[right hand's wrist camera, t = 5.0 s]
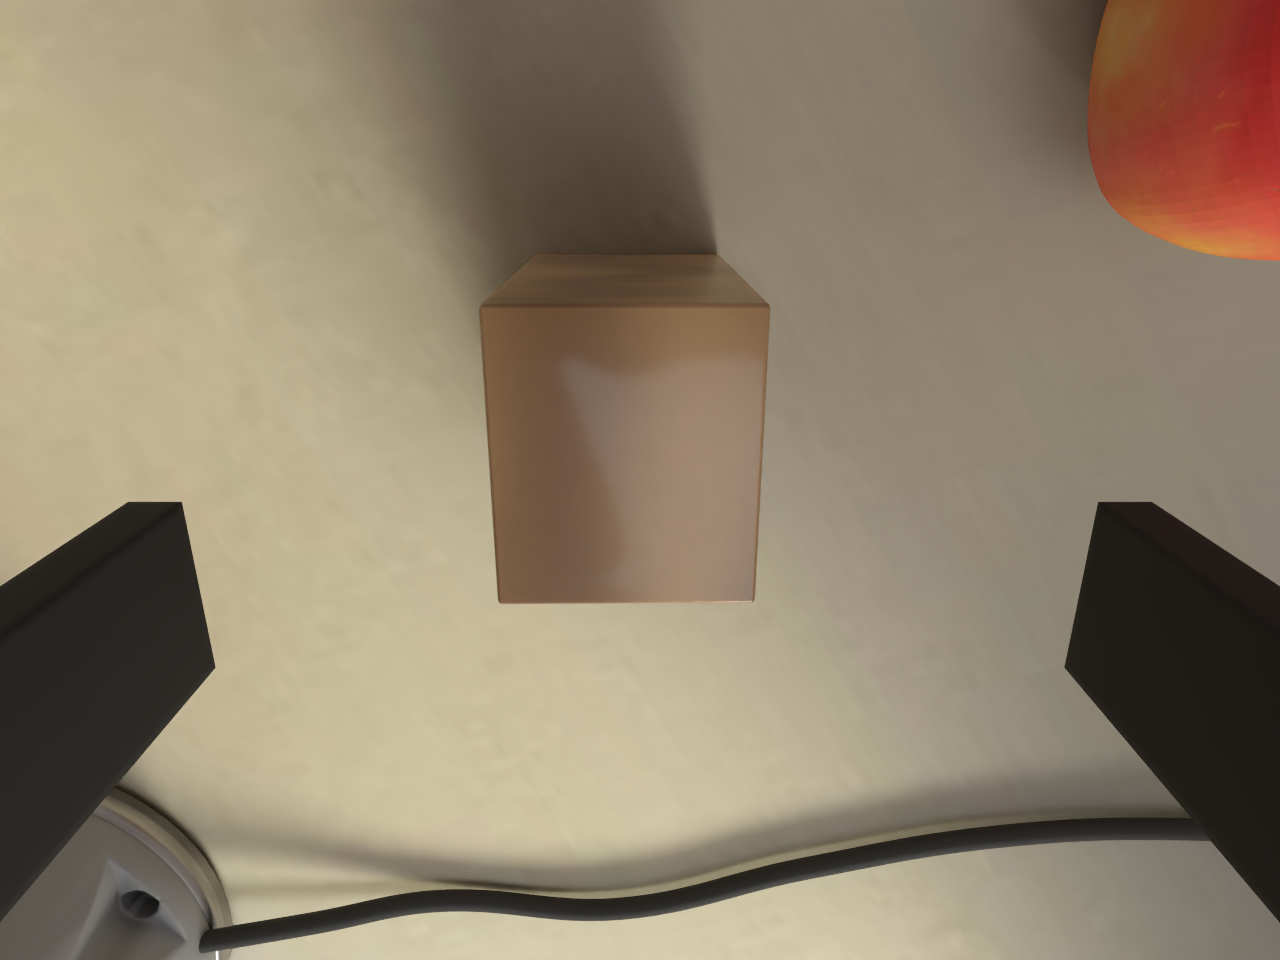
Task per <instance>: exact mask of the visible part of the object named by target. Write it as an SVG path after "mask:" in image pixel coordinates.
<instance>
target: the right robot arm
mask: <svg viewBox="0 0 1280 960" xmlns="http://www.w3.org/2000/svg"><path fill="white" fill-rule="evenodd" d="M214 669H215V663H214V658H213V653H212V648H211V643H210V639H209V634H208V629H207V624H206V619H205V614H204V609H203V604H202V599H201V594H200V589H199V584H198V580H197V575H196V570H195V565H194V560H193V555H192V550H191V545H190V540H189V535H188V530H187V525H186V521H185V516H184V511H183V506H182V502H128V503H126V504H125V505H123V506H121V507H120V508H118V509H117V510H115V511H114V512H112V513H111V514H109V515H108V516H106V517H105V518H103V519H102V520H100V521H99V522H97V523H96V524H94V525H93V526H91V527H90V528H88V529H87V530H85V531H84V532H82V533H80V534H79V535H77V536H76V537H74V538H73V539H71V540H70V541H68V542H67V543H65V544H64V545H62V546H61V547H59V548H58V549H56V550H55V551H53V552H52V553H50V554H49V555H47V556H46V557H44V558H43V559H41V560H40V561H38V562H36V563H35V564H33V565H32V566H30V567H29V568H27V569H26V570H24V571H23V572H21V573H20V574H18V575H17V576H15V577H14V578H12V579H11V580H9V581H8V582H6V583H5V584H3V585H2V586H0V960H229V959H230V955H231V950H232V948H238V947H244V946H250V945H256V944H262V943H268V942H274V941H279V940H285V939H291V938H297V937H302V936H308V935H314V934H319V933H324V932H329V931H334V930H339V929H344V928H348V927H353V926H357V925H361V924H366V923H370V922H374V921H379V920H384V919H389V918H394V917H399V916H405V915H412V914H420V913H431V912H449V911H470V912H489V913H501V914H511V915H520V916H528V917H537V918H547V919H558V920H573V921H608V920H623V919H633V918H642V917H649V916H656V915H661V914H667V913H672V912H677V911H682V910H687V909H691V908H695V907H699V906H703V905H707V904H711V903H715V902H719V901H722V900H726V899H730V898H733V897H737V896H741V895H744V894H748V893H752V892H755V891H759V890H763V889H767V888H771V887H775V886H780V885H784V884H788V883H793V882H798V881H803V880H808V879H813V878H818V877H823V876H828V875H833V874H839V873H844V872H849V871H854V870H859V869H864V868H869V867H875V866H880V865H885V864H890V863H896V862H901V861H907V860H913V859H919V858H925V857H931V856H938V855H944V854H952V853H959V852H967V851H975V850H983V849H993V848H1002V847H1012V846H1023V845H1034V844H1046V843H1060V842H1076V841H1099V840H1190V841H1211V842H1212V843H1213V844H1214V845H1215V846H1216V847H1217V849H1218V850H1219V851H1220V852H1221V853H1222V855H1223V856H1224V857H1225V858H1226V859H1227V860H1228V862H1229V863H1230V864H1231V865H1232V866H1233V868H1234V869H1235V870H1236V871H1237V872H1238V873H1239V875H1240V876H1241V877H1242V878H1243V879H1244V881H1245V882H1246V883H1247V884H1248V885H1249V887H1250V888H1251V889H1252V890H1253V891H1254V892H1255V894H1256V895H1257V896H1258V897H1259V898H1260V900H1261V901H1262V902H1263V903H1264V904H1265V905H1266V907H1267V908H1268V909H1269V910H1270V911H1271V913H1272V914H1273V915H1274V916H1275V917H1276V918H1277V920H1278V921H1279V922H1280V586H1278V585H1277V584H1275V583H1274V582H1272V581H1271V580H1269V579H1268V578H1266V577H1265V576H1263V575H1262V574H1260V573H1259V572H1257V571H1256V570H1254V569H1253V568H1251V567H1250V566H1248V565H1247V564H1245V563H1244V562H1242V561H1240V560H1239V559H1237V558H1236V557H1234V556H1233V555H1231V554H1230V553H1228V552H1227V551H1225V550H1224V549H1222V548H1221V547H1219V546H1218V545H1216V544H1215V543H1213V542H1212V541H1210V540H1209V539H1207V538H1206V537H1204V536H1203V535H1201V534H1199V533H1198V532H1196V531H1195V530H1193V529H1192V528H1190V527H1189V526H1187V525H1186V524H1184V523H1183V522H1181V521H1180V520H1178V519H1177V518H1175V517H1174V516H1172V515H1171V514H1169V513H1168V512H1166V511H1165V510H1163V509H1162V508H1160V507H1159V506H1157V505H1155V504H1154V503H1152V502H1098V506H1097V511H1096V516H1095V521H1094V525H1093V530H1092V535H1091V540H1090V545H1089V550H1088V555H1087V560H1086V565H1085V570H1084V575H1083V580H1082V584H1081V589H1080V594H1079V599H1078V604H1077V609H1076V614H1075V619H1074V624H1073V629H1072V634H1071V639H1070V643H1069V648H1068V653H1067V658H1066V663H1065V669H1066V670H1067V671H1068V672H1069V673H1070V675H1071V676H1072V677H1073V678H1074V679H1075V681H1076V682H1077V683H1078V684H1079V685H1080V686H1081V688H1082V689H1083V690H1084V691H1085V692H1086V694H1087V695H1088V696H1089V697H1090V698H1091V699H1092V701H1093V702H1094V703H1095V704H1096V705H1097V707H1098V708H1099V709H1100V710H1101V711H1102V712H1103V714H1104V715H1105V716H1106V717H1107V718H1108V720H1109V721H1110V722H1111V723H1112V724H1113V726H1114V727H1115V728H1116V729H1117V730H1118V731H1119V733H1120V734H1121V735H1122V736H1123V737H1124V739H1125V740H1126V741H1127V742H1128V743H1129V744H1130V746H1131V747H1132V748H1133V749H1134V750H1135V752H1136V753H1137V754H1138V755H1139V756H1140V757H1141V759H1142V760H1143V761H1144V762H1145V763H1146V765H1147V766H1148V767H1149V768H1150V769H1151V770H1152V772H1153V773H1154V774H1155V775H1156V776H1157V778H1158V779H1159V780H1160V781H1161V782H1162V784H1163V785H1164V786H1165V787H1166V788H1167V789H1168V791H1169V792H1170V793H1171V794H1172V795H1173V797H1174V798H1175V799H1176V800H1177V801H1178V802H1179V804H1180V805H1181V806H1182V807H1183V808H1184V810H1185V811H1186V812H1187V813H1188V814H1189V815H1190V817H1191V818H1192V819H1189V818H1092V819H1071V820H1055V821H1041V822H1029V823H1018V824H1007V825H997V826H988V827H979V828H970V829H962V830H954V831H947V832H940V833H933V834H927V835H921V836H914V837H909V838H903V839H897V840H892V841H886V842H881V843H876V844H871V845H865V846H860V847H855V848H850V849H845V850H840V851H835V852H830V853H825V854H820V855H814V856H809V857H804V858H799V859H794V860H790V861H785V862H780V863H776V864H772V865H768V866H764V867H760V868H756V869H752V870H748V871H745V872H741V873H737V874H733V875H730V876H726V877H723V878H719V879H715V880H712V881H708V882H704V883H700V884H697V885H692V886H688V887H684V888H680V889H675V890H670V891H665V892H660V893H654V894H648V895H641V896H632V897H623V898H609V899H571V898H558V897H547V896H538V895H529V894H521V893H512V892H502V891H489V890H470V889H451V890H432V891H421V892H412V893H405V894H399V895H393V896H388V897H383V898H378V899H373V900H369V901H364V902H360V903H356V904H351V905H347V906H342V907H337V908H332V909H327V910H322V911H317V912H311V913H305V914H299V915H294V916H288V917H282V918H276V919H270V920H264V921H258V922H252V923H246V924H240V925H234V926H232V919H231V913H230V909H229V905H228V902H227V898H226V896H225V893H224V891H223V888H222V886H221V884H220V882H219V880H218V878H217V876H216V875H215V873H214V871H213V869H212V868H211V867H210V865H209V864H208V862H207V861H206V859H205V858H204V856H203V855H202V854H201V853H200V852H199V850H198V849H197V848H196V847H195V846H194V844H193V843H192V842H191V841H190V840H189V839H188V838H187V837H186V836H185V835H184V834H183V833H182V832H181V831H180V830H178V829H177V828H176V827H175V826H174V825H173V824H171V823H170V822H169V821H168V820H167V819H165V818H164V817H163V816H161V815H160V814H158V813H157V812H156V811H154V810H153V809H152V808H150V807H148V806H147V805H145V804H144V803H142V802H140V801H139V800H137V799H135V798H134V797H132V796H130V795H128V794H126V793H124V792H122V791H120V790H118V789H116V788H114V787H115V786H116V785H117V784H118V782H119V781H120V780H121V779H122V778H123V776H124V775H125V774H126V773H127V772H128V770H129V769H130V768H131V767H132V766H133V765H134V763H135V762H136V761H137V760H138V759H139V757H140V756H141V755H142V754H143V753H144V752H145V750H146V749H147V748H148V747H149V746H150V744H151V743H152V742H153V741H154V740H155V739H156V737H157V736H158V735H159V734H160V733H161V731H162V730H163V729H164V728H165V727H166V726H167V724H168V723H169V722H170V721H171V720H172V718H173V717H174V716H175V715H176V714H177V712H178V711H179V710H180V709H181V708H182V707H183V705H184V704H185V703H186V702H187V701H188V699H189V698H190V697H191V696H192V695H193V694H194V692H195V691H196V690H197V689H198V688H199V686H200V685H201V684H202V683H203V682H204V681H205V679H206V678H207V677H208V676H209V675H210V673H211V672H212V671H213V670H214Z"/></svg>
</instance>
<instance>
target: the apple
mask: <svg viewBox="0 0 1280 960" xmlns="http://www.w3.org/2000/svg"><path fill="white" fill-rule="evenodd" d="M1088 144H1089V151H1090V157H1091V162H1092V165H1093V169H1094V172H1095V175H1096V178H1097V181H1098V184H1099V187H1100V189H1101V191H1102V193H1103V195H1104V196H1105V198H1106V200H1107V201H1108V202H1109V203H1110V205H1111V206H1112V207H1113V208H1114V209H1115V210H1116V212H1117V213H1118V214H1120V215H1121V216H1122V217H1124V218H1125V219H1126V220H1128V221H1129V222H1131V223H1132V224H1133V225H1135V226H1136V227H1138V228H1140V229H1142V230H1144V231H1145V232H1147V233H1149V234H1151V235H1154V236H1156V237H1158V238H1160V239H1163V240H1165V241H1168V242H1170V243H1173V244H1175V245H1178V246H1181V247H1184V248H1187V249H1191V250H1194V251H1199V252H1203V253H1207V254H1212V255H1217V256H1223V257H1231V258H1241V259H1254V260H1280V0H1108V2H1107V5H1106V8H1105V12H1104V15H1103V18H1102V22H1101V26H1100V30H1099V34H1098V38H1097V43H1096V48H1095V53H1094V58H1093V64H1092V71H1091V78H1090V87H1089V98H1088Z"/></svg>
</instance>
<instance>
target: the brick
mask: <svg viewBox="0 0 1280 960" xmlns="http://www.w3.org/2000/svg"><path fill="white" fill-rule="evenodd" d="M479 315H480V331H481V346H482V361H483V377H484V392H485V407H486V423H487V438H488V453H489V469H490V484H491V499H492V515H493V530H494V546H495V561H496V576H497V592H498V601H499V603H501V604H545V603H751V602H753V601H754V599H755V585H756V566H757V547H758V528H759V509H760V490H761V471H762V452H763V433H764V414H765V395H766V376H767V357H768V338H769V319H770V306H769V304H768V303H767V302H766V301H765V300H764V299H763V298H762V297H761V296H760V295H759V294H758V293H757V292H756V291H755V290H754V289H753V288H752V287H751V286H750V285H749V284H748V283H747V282H746V281H745V280H744V279H743V278H742V277H741V276H740V275H739V274H738V273H737V272H736V271H734V270H733V269H732V268H731V267H730V266H729V265H728V264H727V263H726V262H725V261H724V260H723V259H722V258H721V257H720V256H719V255H718V254H537V255H535V256H534V257H533V258H532V259H530V260H529V261H528V262H527V263H526V264H525V265H524V266H523V267H522V268H521V269H519V270H518V271H517V272H516V273H515V274H514V275H513V276H512V277H511V278H509V279H508V280H507V281H506V282H505V283H504V284H503V285H502V286H501V287H499V288H498V289H497V290H496V291H495V292H494V293H493V294H492V295H491V296H490V297H488V298H487V299H486V300H485V301H484V302H483V303H482V304H481V305H480V307H479Z"/></svg>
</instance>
